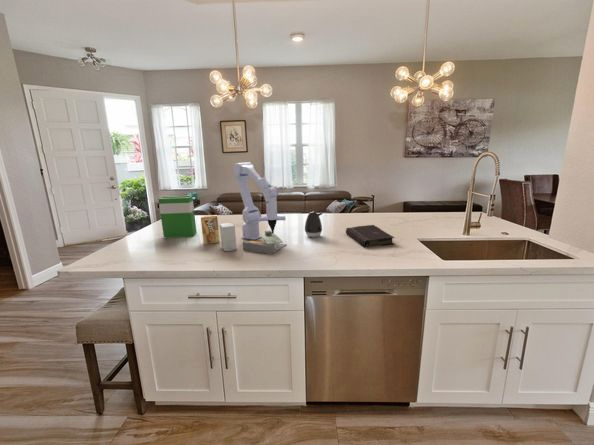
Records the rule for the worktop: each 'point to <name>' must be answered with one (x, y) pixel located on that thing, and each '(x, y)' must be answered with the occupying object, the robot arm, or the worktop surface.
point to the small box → (228, 236)
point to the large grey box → (263, 247)
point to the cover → (271, 238)
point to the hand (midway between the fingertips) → (272, 233)
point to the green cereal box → (177, 216)
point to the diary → (369, 236)
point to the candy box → (210, 229)
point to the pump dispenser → (313, 224)
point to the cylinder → (258, 242)
